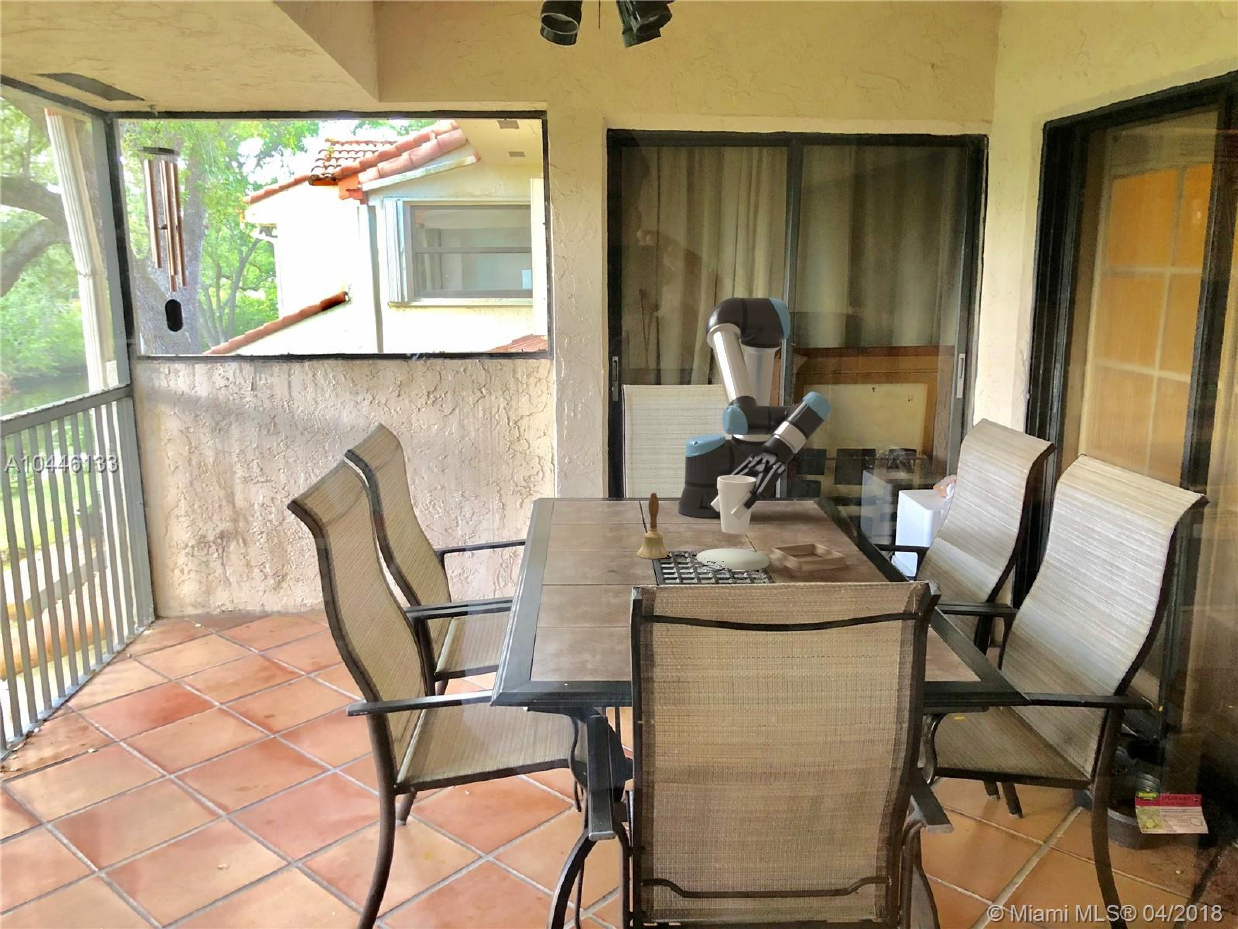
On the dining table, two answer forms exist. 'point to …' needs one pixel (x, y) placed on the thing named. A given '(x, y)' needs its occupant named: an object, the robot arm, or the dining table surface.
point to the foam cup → (734, 501)
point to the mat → (734, 558)
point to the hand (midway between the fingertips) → (724, 512)
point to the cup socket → (827, 562)
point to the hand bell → (653, 535)
